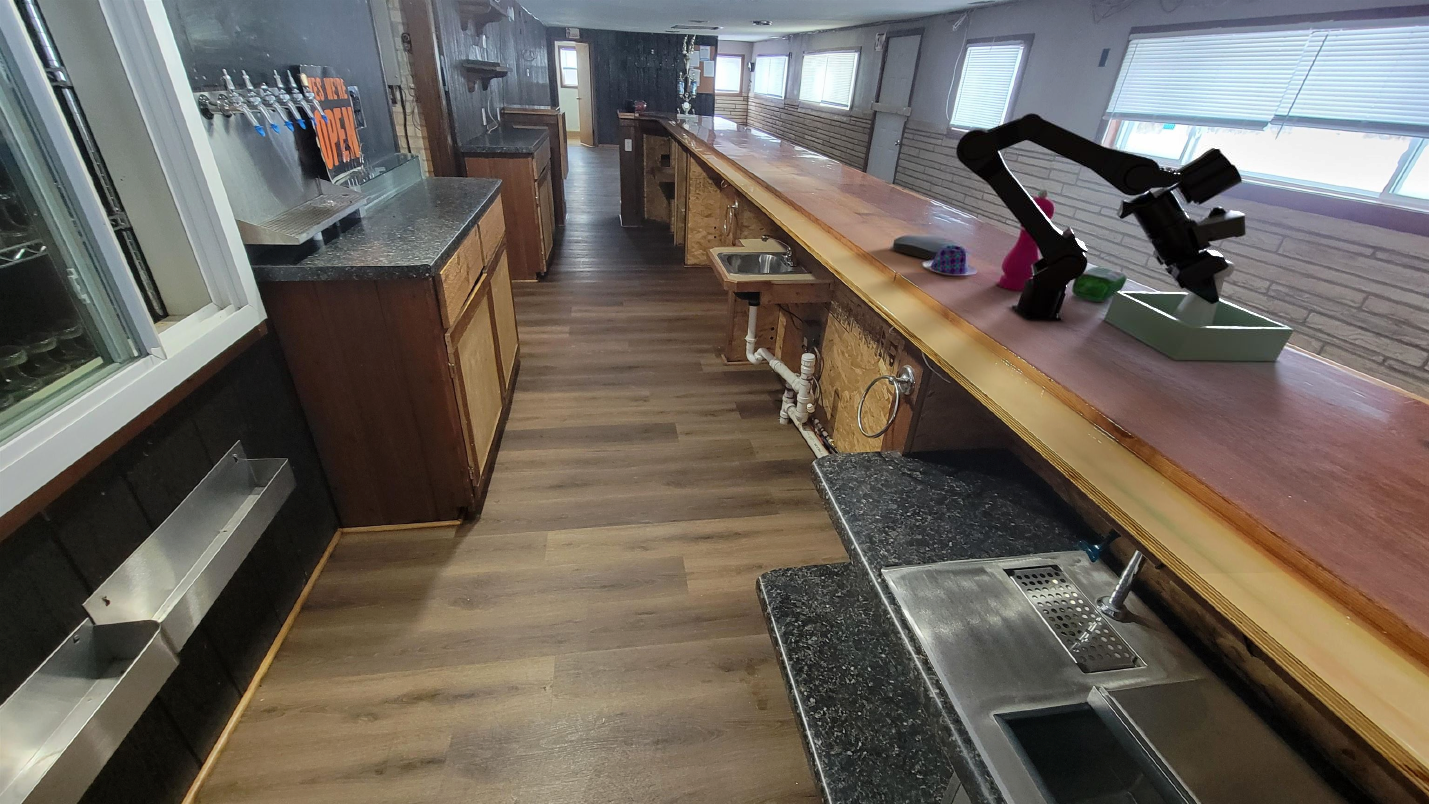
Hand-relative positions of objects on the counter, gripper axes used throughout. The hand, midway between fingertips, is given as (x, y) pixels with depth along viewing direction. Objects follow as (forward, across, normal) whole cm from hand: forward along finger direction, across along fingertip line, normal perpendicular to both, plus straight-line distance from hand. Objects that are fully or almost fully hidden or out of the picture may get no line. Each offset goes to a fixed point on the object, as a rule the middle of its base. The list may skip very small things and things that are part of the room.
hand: (1212, 299), depth 95 cm
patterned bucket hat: (-24, +22, +36) cm, 49 cm away
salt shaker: (+4, 0, +6) cm, 7 cm away
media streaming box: (-29, +37, +40) cm, 62 cm away
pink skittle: (-14, +17, +26) cm, 34 cm away
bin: (+4, 0, +6) cm, 8 cm away
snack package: (-4, +20, +15) cm, 25 cm away
